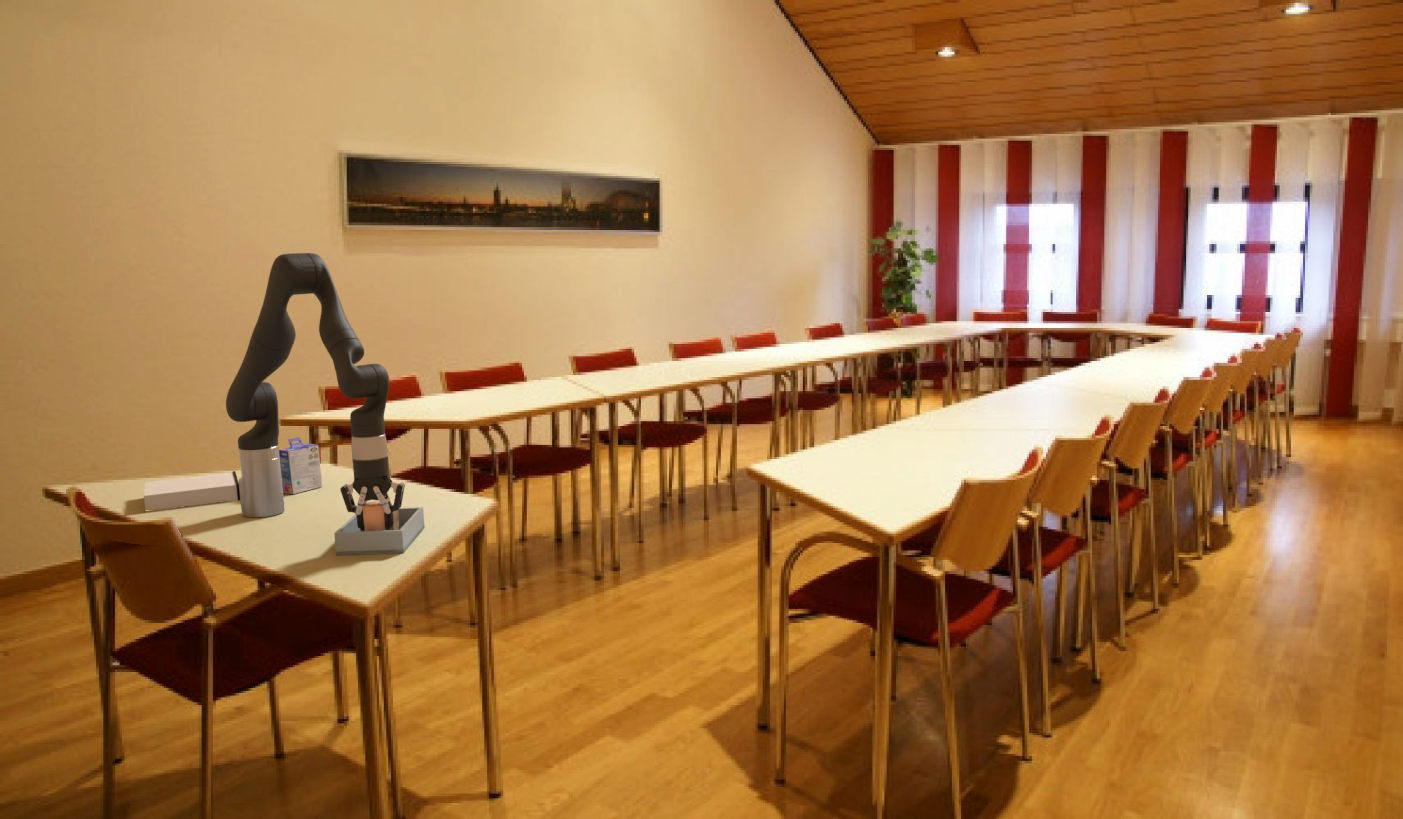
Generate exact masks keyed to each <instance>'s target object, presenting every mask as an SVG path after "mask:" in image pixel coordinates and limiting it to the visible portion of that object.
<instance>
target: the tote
mask: <svg viewBox="0 0 1403 819" xmlns="http://www.w3.org/2000/svg"><path fill="white" fill-rule="evenodd" d="M398 514H399V527H400V529H399V530H384V531H361V530H360V528H358V526H357V515H356V514H355V513H354V515H352V516H351V517H350V518H349V519H348V520H347V521H346V522H345V523H344V524H343V525H342V526H341V527H339V528H338V529H337V530H336V531H335V532H334V543H335V556H350V555H352V556H354V555H355V556H357V555H384V554H385V555H386V554H387V555H388V554H405V552H406V551H407V550H408V548H410V546H411V545H412V544H413V543H414V541H415V540H416V538H418V537H419V535H420V534H421V533H422V532H423V530H424V529H425V519H424V518H425V516H424V507H423V506H418V507H417V506H416V507H400V508H399V509H398Z"/></svg>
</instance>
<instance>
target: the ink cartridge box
mask: <svg viewBox="0 0 1403 819" xmlns="http://www.w3.org/2000/svg"><path fill="white" fill-rule="evenodd" d="M287 440H288V442H289V443H288V444H289V446H290V447H285V448H281V449H279V456H280V467H281V477H282V487H283V494H284V493H285V494H289V495H295V494H299V493H303V492H307V491H310V490H315V489H319V488H323V479H322V469H321V460H320V448H319V445H318V444H313V443H303V442H302V440H301V437H298V436H297V437H294V438H289V439H287ZM294 441H296V442H295V443H292V442H294ZM297 441H298V442H297Z"/></svg>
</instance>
